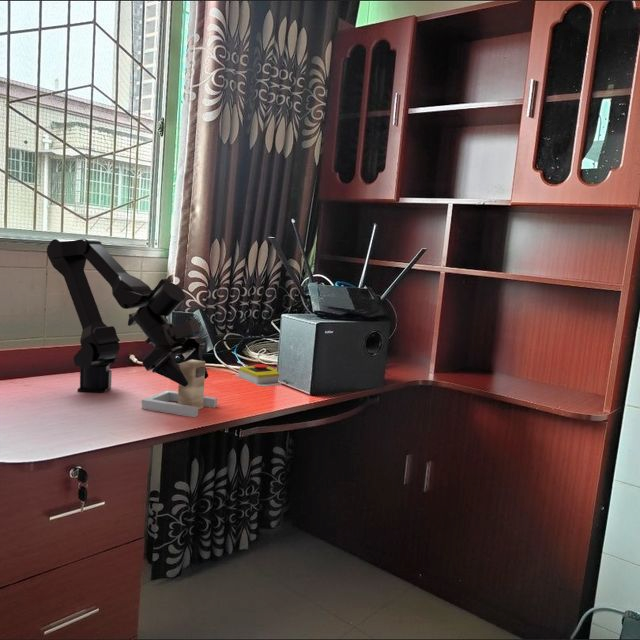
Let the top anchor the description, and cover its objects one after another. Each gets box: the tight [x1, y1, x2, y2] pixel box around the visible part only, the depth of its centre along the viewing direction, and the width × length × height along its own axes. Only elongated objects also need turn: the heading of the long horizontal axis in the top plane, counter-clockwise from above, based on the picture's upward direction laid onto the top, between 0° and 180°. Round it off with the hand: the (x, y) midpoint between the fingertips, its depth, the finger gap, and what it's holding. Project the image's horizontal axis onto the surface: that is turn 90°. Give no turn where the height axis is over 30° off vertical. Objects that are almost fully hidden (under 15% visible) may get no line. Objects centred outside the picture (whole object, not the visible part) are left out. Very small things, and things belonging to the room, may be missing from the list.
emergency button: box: [235, 363, 282, 387], centre depth 176 cm, size 9×4×15 cm
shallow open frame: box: [141, 390, 218, 418], centre depth 142 cm, size 14×10×2 cm
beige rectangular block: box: [177, 360, 206, 411], centre depth 141 cm, size 4×6×11 cm
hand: (197, 381), depth 140 cm, fingers open, 9 cm apart
